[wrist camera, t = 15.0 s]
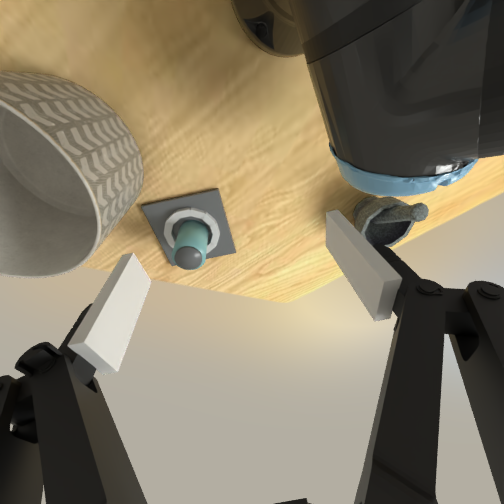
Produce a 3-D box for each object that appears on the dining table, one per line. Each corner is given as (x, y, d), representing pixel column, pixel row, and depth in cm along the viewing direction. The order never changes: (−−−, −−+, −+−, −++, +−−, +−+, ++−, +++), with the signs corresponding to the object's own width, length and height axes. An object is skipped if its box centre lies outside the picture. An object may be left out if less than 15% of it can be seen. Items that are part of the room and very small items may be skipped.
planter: (171, 144, 35) (133, 184, 21) (120, 228, 43) (65, 301, 28) (25, 33, 27) (-214, -34, 12) (-7, 161, 34) (-179, 216, 20)
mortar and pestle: (378, 232, 49) (416, 267, 40) (338, 230, 48) (367, 266, 38) (403, 181, 43) (456, 208, 33) (358, 178, 42) (399, 205, 32)
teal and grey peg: (175, 222, 42) (165, 248, 35) (204, 217, 42) (199, 242, 35) (184, 246, 45) (177, 274, 39) (211, 241, 45) (209, 268, 38)
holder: (142, 204, 40) (139, 209, 39) (218, 188, 40) (218, 192, 39) (172, 263, 49) (171, 269, 47) (235, 250, 48) (236, 255, 47)
